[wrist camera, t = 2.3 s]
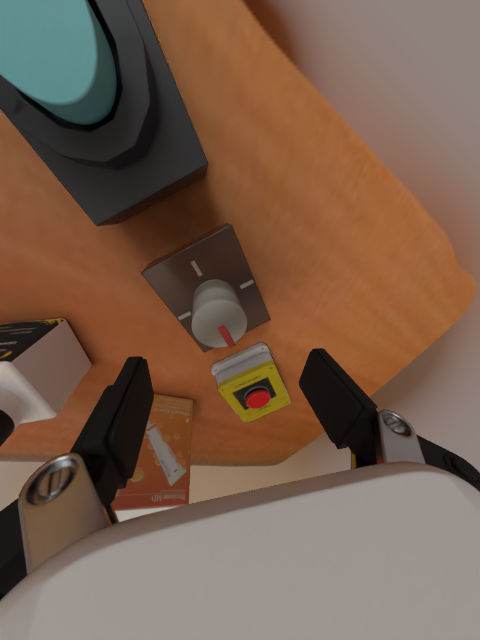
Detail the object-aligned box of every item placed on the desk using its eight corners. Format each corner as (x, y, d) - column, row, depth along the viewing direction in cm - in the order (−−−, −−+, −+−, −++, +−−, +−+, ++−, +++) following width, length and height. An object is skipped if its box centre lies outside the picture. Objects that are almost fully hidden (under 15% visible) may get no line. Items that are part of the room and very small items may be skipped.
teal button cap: (-39, -2, 7) (-119, -74, 5) (54, -66, 7) (4, -163, 5) (65, 143, 9) (35, 126, 8) (138, 99, 9) (123, 72, 7)
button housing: (-33, 22, 10) (-270, -175, 5) (103, -68, 9) (-7, -392, 4) (118, 223, 16) (80, 228, 11) (206, 174, 15) (210, 155, 10)
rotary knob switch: (148, 264, 18) (139, 273, 15) (226, 222, 18) (231, 223, 15) (203, 338, 24) (204, 353, 21) (263, 308, 23) (271, 320, 21)
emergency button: (275, 360, 23) (298, 415, 31) (264, 340, 26) (288, 393, 34) (210, 390, 23) (250, 436, 31) (208, 366, 27) (244, 413, 35)
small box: (193, 398, 30) (190, 506, 19) (180, 420, 32) (170, 528, 21) (141, 389, 26) (101, 514, 15) (131, 415, 29) (89, 539, 18)
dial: (184, 292, 17) (179, 319, 13) (224, 271, 17) (234, 291, 12) (207, 325, 19) (209, 357, 15) (242, 307, 19) (256, 335, 15)
